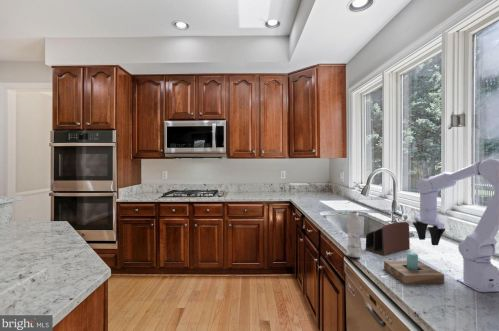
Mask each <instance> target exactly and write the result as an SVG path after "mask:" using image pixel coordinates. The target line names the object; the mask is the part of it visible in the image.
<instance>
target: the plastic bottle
mask: <svg viewBox="0 0 499 331" xmlns="http://www.w3.org/2000/svg"><path fill="white" fill-rule="evenodd" d="M359 217H360V216H359V212H358V211H350V212H349V219H348V220H347V222H346V229H347V246H346V254H347V256H349V257H350V258H354V259H355V258H356V259H357V258H361V256H362V254H363V251H362V250H363V249H362V245H361V242H362V241H361V237H362V236H361V233H362V229H363V228H362V226H363V224H362V222H361V220H360V219H359Z"/></svg>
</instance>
